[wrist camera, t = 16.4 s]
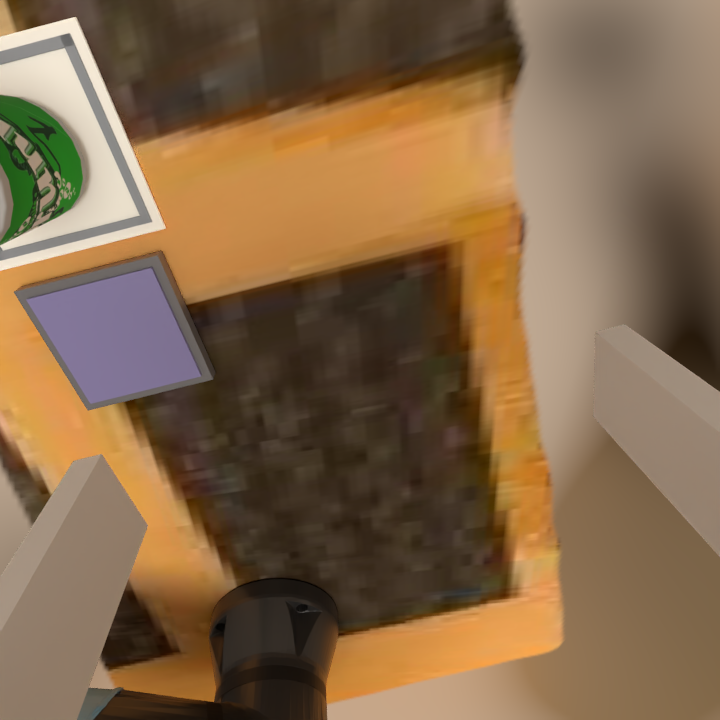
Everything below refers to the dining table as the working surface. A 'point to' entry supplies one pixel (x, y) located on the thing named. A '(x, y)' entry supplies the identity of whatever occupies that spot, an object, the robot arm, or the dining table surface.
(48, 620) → the robot arm
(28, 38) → the marked sheet
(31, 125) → the soda can
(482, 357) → the dining table surface
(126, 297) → the ink pad
